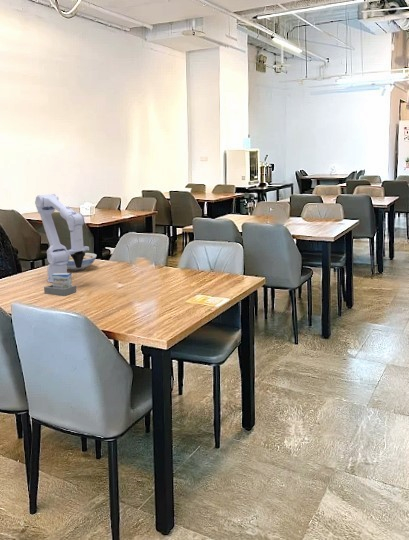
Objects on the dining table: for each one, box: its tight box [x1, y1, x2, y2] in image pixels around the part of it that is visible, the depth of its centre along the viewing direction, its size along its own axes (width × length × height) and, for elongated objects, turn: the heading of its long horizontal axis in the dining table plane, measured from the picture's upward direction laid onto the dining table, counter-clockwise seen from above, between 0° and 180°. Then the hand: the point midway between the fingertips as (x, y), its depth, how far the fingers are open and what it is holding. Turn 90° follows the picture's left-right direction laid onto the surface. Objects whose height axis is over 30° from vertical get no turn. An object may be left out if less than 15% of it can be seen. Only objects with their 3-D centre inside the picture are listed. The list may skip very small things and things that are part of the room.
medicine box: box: [52, 272, 73, 289], centre depth 245 cm, size 8×4×9 cm, turn 88°
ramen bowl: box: [67, 252, 97, 271], centre depth 294 cm, size 25×23×8 cm
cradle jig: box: [43, 283, 77, 297], centre depth 243 cm, size 12×8×3 cm, turn 63°
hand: (78, 267), depth 253 cm, fingers closed
